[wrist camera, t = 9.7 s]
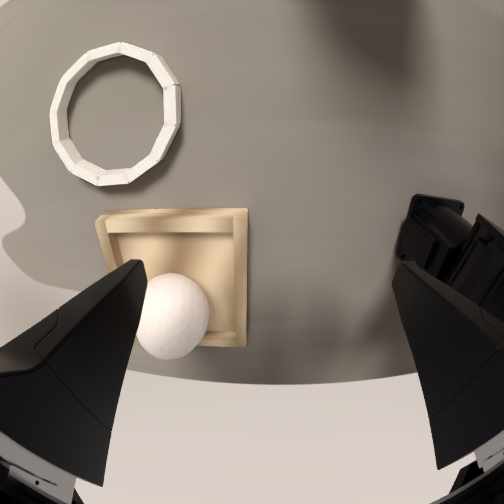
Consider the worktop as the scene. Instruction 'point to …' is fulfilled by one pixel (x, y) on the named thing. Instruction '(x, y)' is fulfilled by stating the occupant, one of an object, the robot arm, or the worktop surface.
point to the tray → (188, 257)
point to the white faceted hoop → (64, 95)
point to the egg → (172, 316)
